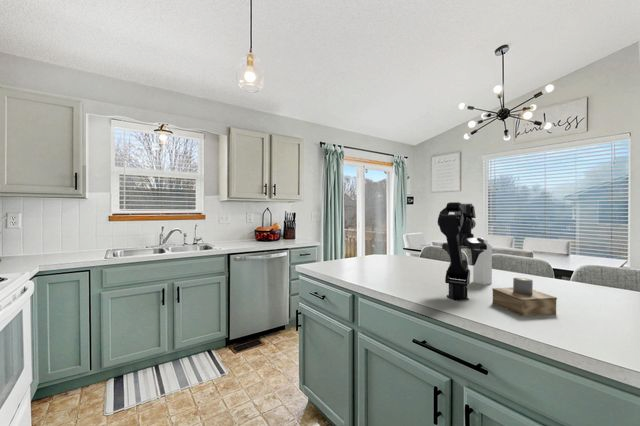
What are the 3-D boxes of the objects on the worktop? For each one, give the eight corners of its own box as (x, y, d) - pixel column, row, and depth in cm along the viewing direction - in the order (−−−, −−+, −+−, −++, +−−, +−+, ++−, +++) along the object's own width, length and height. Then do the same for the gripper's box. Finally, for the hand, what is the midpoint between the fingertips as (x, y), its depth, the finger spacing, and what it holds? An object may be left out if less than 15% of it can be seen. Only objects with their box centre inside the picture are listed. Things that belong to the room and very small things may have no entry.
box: (521, 315, 103) (521, 301, 103) (492, 303, 117) (492, 290, 117) (556, 313, 105) (556, 299, 105) (524, 301, 119) (524, 289, 119)
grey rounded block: (522, 295, 108) (522, 281, 108) (509, 290, 114) (509, 277, 114) (536, 294, 109) (536, 281, 109) (523, 290, 115) (523, 277, 115)
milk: (482, 284, 146) (482, 240, 145) (472, 281, 152) (472, 239, 151) (492, 283, 147) (492, 240, 147) (482, 280, 153) (482, 238, 153)
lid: (521, 301, 103) (521, 299, 103) (492, 290, 117) (492, 288, 117) (556, 299, 105) (556, 297, 105) (523, 288, 119) (523, 286, 119)
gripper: (455, 232, 124) (455, 269, 124) (495, 232, 127) (495, 268, 127) (441, 230, 135) (441, 264, 136) (478, 230, 138) (478, 263, 138)
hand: (464, 265), depth 134 cm, fingers open, 9 cm apart
